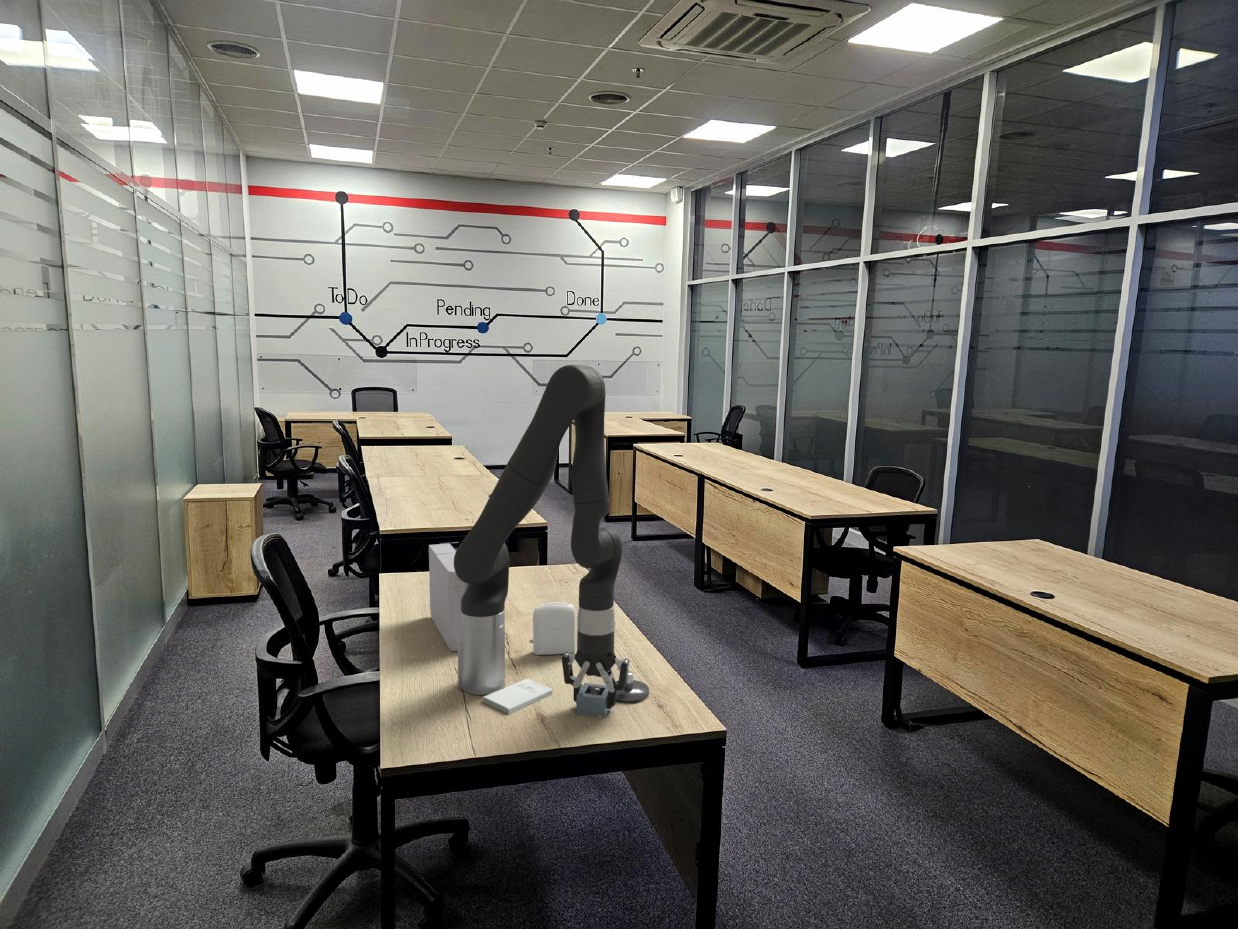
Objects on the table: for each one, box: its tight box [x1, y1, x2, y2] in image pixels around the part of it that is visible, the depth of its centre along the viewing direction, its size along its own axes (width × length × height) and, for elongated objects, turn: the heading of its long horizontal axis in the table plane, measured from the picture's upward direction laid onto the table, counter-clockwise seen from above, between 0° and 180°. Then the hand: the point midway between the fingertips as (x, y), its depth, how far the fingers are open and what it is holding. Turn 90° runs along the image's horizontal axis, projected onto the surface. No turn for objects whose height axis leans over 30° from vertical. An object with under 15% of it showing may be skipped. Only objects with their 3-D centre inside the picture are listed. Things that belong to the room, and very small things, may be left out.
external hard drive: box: [481, 678, 554, 715], centre depth 160 cm, size 2×8×12 cm
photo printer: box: [532, 601, 576, 656], centre depth 184 cm, size 10×4×12 cm, turn 100°
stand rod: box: [589, 686, 600, 695], centre depth 155 cm, size 2×2×4 cm
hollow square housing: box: [575, 682, 610, 718], centre depth 155 cm, size 6×6×4 cm
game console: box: [428, 542, 468, 652], centre depth 195 cm, size 6×27×20 cm, turn 24°
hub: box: [616, 670, 650, 703], centre depth 163 cm, size 9×9×4 cm
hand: (594, 705), depth 156 cm, fingers closed on hollow square housing, 6 cm apart
